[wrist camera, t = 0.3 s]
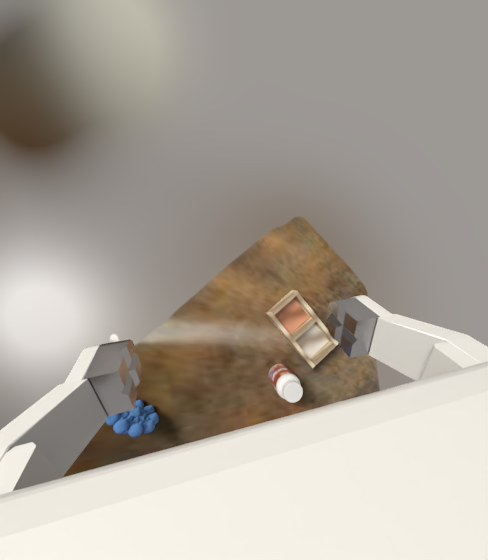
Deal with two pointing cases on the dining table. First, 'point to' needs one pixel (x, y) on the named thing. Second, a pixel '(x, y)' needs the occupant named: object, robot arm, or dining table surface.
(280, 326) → the tray
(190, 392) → the dining table surface
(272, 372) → the pill bottle
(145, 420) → the grapes
